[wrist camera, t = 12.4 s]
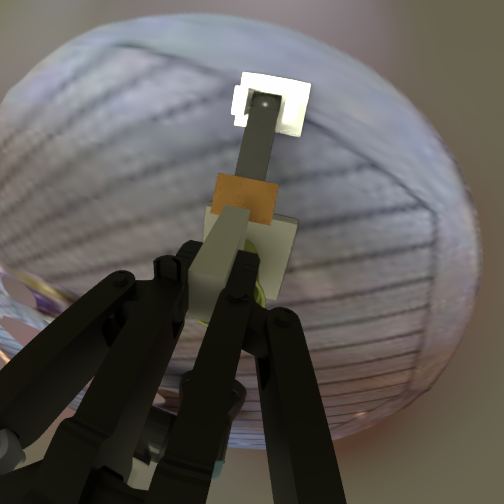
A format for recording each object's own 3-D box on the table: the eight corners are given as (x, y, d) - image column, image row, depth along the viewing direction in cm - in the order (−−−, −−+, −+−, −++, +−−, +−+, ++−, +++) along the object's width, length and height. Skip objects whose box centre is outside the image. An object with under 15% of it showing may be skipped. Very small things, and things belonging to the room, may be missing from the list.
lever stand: (299, 135, 28) (302, 150, 20) (236, 123, 28) (215, 133, 20) (310, 84, 25) (317, 78, 17) (245, 73, 25) (226, 63, 17)
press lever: (270, 224, 22) (270, 225, 19) (215, 213, 22) (210, 213, 20) (294, 104, 20) (297, 92, 18) (243, 94, 21) (240, 83, 18)
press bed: (277, 293, 40) (276, 300, 38) (203, 277, 40) (200, 283, 39) (297, 219, 33) (297, 224, 32) (209, 201, 33) (206, 205, 32)
